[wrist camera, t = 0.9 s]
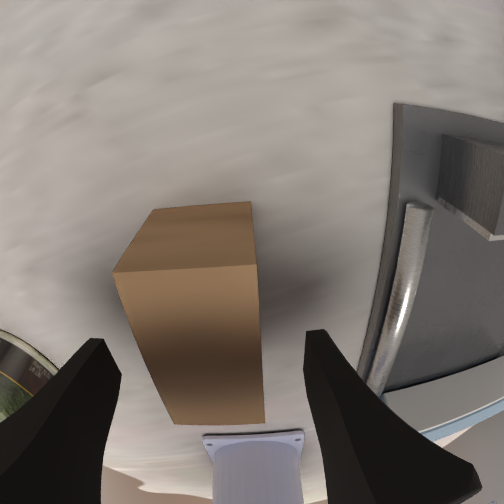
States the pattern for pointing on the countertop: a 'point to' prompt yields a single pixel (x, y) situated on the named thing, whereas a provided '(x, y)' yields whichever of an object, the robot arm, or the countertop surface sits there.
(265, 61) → the countertop surface
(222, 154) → the countertop surface
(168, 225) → the walnut block
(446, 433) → the bar
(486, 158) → the vise
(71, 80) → the countertop surface
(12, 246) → the countertop surface
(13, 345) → the coffee can
